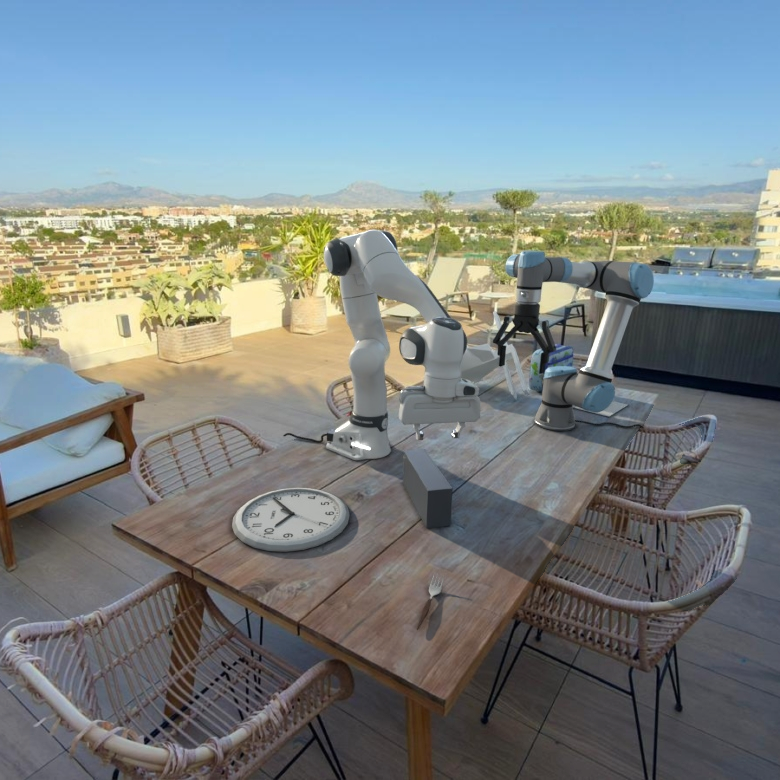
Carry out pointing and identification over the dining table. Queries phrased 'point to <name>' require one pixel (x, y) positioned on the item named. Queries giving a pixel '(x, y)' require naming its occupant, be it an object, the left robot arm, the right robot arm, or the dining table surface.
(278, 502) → the wall clock
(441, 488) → the box
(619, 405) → the invitation card
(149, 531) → the dining table surface
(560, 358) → the lunch box
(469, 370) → the white plastic object
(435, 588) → the fork
